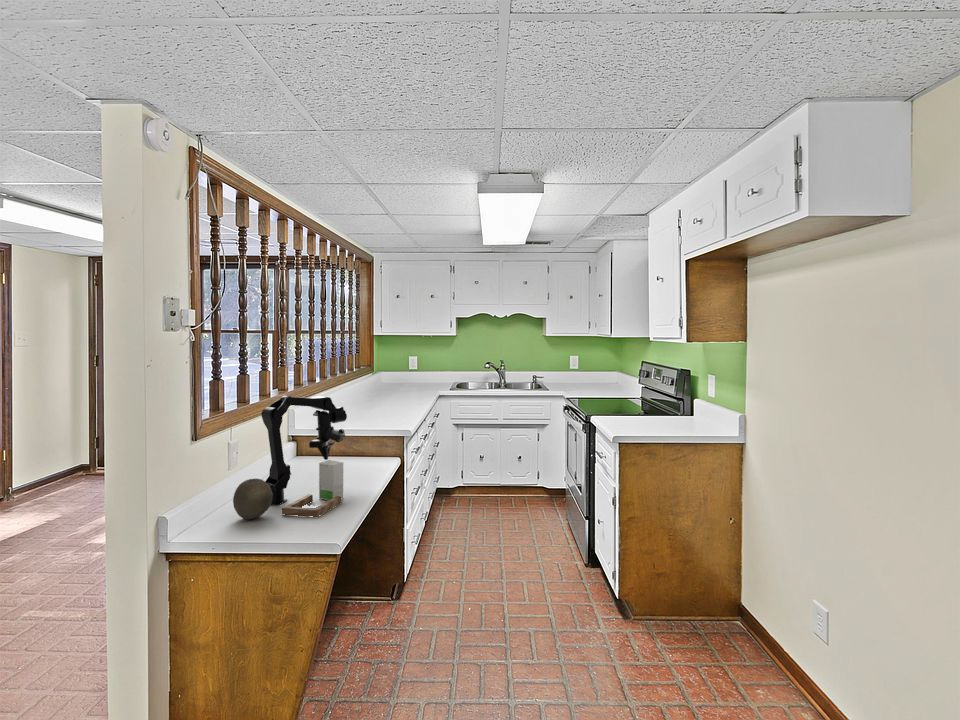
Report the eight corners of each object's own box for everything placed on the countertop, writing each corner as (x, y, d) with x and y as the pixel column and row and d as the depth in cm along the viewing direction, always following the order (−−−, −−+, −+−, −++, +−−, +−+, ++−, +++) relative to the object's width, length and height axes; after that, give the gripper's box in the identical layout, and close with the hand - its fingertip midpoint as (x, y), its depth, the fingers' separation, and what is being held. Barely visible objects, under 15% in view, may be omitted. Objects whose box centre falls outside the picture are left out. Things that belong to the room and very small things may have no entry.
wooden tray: (317, 517, 232) (316, 510, 231) (281, 515, 235) (281, 507, 235) (341, 503, 250) (341, 496, 250) (308, 501, 254) (308, 494, 254)
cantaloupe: (231, 526, 224) (230, 485, 223) (235, 515, 237) (234, 476, 236) (272, 522, 227) (271, 482, 227) (274, 511, 241) (272, 473, 240)
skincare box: (318, 499, 257) (317, 462, 256) (329, 495, 263) (328, 459, 262) (334, 501, 253) (333, 464, 253) (344, 497, 259) (343, 461, 258)
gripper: (331, 428, 260) (333, 465, 261) (350, 421, 278) (352, 455, 279) (307, 428, 263) (309, 464, 264) (328, 421, 281) (329, 454, 282)
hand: (326, 459), depth 272 cm, fingers closed
